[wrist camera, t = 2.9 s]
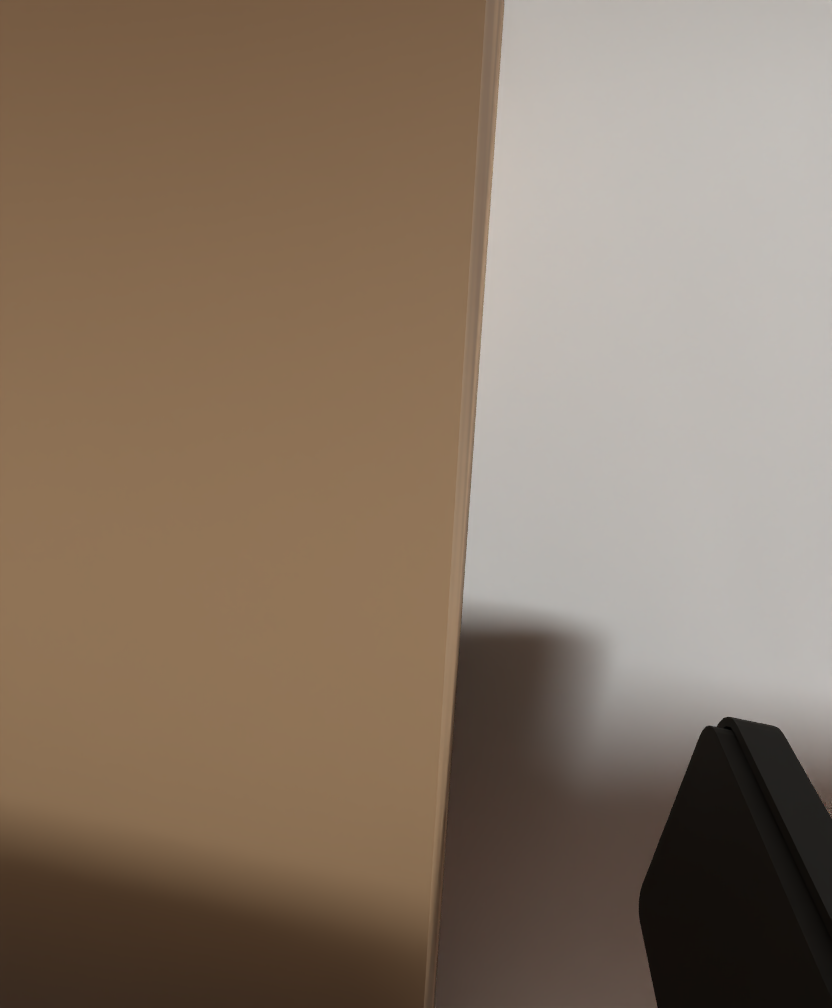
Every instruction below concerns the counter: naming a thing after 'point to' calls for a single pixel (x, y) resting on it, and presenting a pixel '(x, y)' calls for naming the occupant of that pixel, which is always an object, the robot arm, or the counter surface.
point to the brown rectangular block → (235, 491)
